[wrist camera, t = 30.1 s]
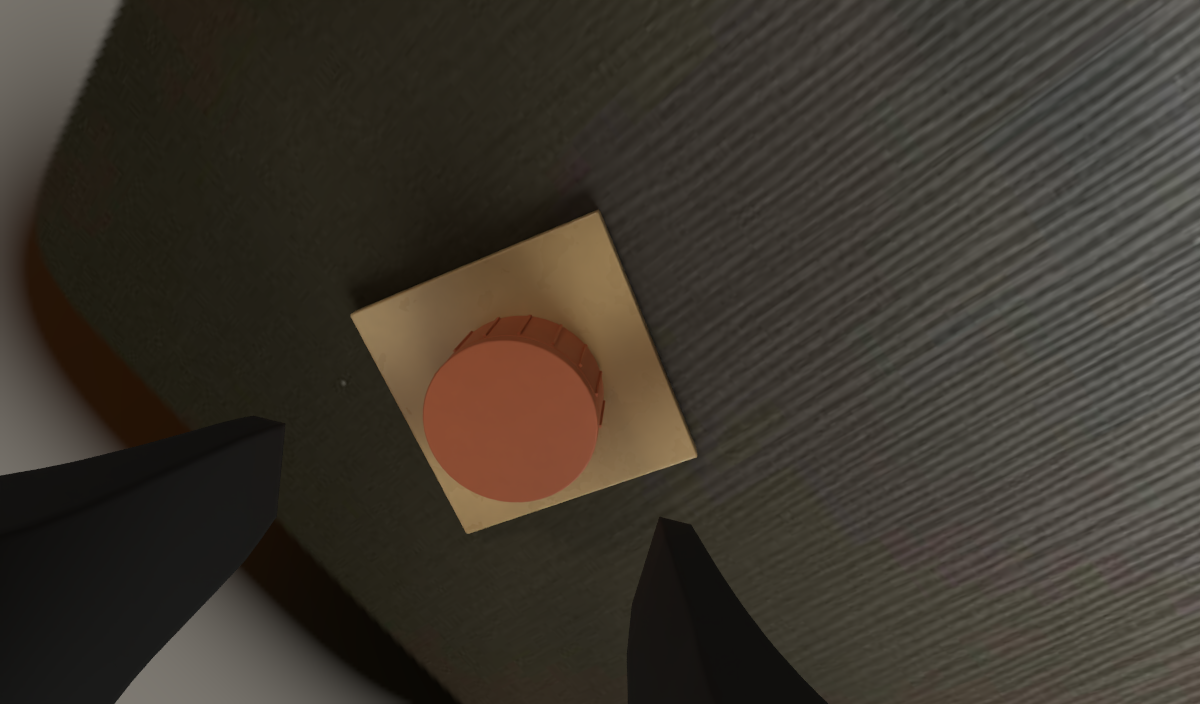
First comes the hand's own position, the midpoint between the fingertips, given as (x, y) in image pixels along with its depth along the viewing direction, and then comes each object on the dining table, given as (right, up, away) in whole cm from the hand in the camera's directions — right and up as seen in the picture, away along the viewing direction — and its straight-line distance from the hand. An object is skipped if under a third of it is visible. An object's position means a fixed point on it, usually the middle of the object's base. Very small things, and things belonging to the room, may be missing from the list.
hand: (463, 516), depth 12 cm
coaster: (0, +2, +7) cm, 7 cm away
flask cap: (0, +1, +5) cm, 5 cm away
